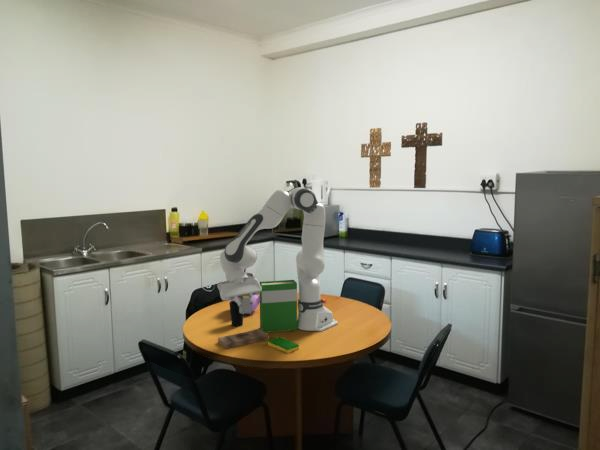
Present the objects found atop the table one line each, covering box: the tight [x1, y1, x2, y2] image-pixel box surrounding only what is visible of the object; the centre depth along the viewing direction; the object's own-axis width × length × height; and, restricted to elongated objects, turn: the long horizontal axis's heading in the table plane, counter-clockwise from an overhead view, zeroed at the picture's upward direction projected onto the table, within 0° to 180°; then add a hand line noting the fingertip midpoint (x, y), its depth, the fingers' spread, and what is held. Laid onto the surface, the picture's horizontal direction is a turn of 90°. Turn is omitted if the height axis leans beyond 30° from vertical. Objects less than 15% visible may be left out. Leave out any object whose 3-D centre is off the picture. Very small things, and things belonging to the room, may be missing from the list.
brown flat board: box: [217, 328, 270, 350], centre depth 217 cm, size 22×9×2 cm, turn 123°
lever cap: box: [239, 295, 250, 315], centre depth 215 cm, size 4×3×8 cm
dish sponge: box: [267, 336, 300, 354], centre depth 210 cm, size 7×14×2 cm, turn 44°
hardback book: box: [259, 279, 298, 333], centre depth 232 cm, size 18×7×24 cm, turn 103°
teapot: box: [229, 294, 260, 315], centre depth 258 cm, size 20×20×15 cm
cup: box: [229, 300, 244, 328], centre depth 238 cm, size 8×8×12 cm
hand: (246, 304), depth 214 cm, fingers closed on lever cap, 4 cm apart
